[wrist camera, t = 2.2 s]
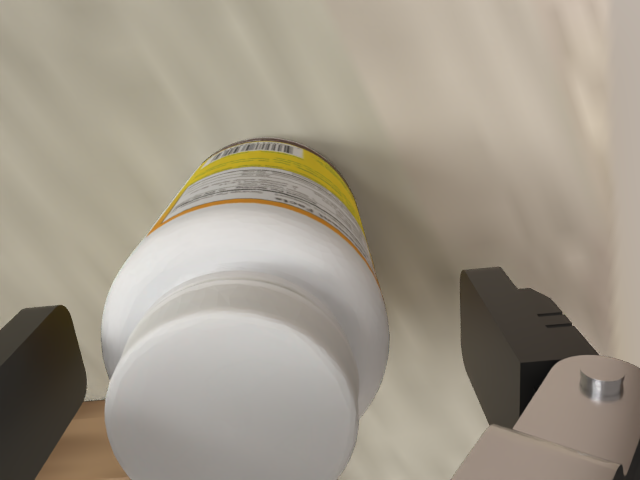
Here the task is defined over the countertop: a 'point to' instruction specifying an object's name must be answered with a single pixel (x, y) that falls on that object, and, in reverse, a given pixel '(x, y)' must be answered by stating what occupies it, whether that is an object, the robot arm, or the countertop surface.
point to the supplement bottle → (246, 325)
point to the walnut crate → (84, 449)
